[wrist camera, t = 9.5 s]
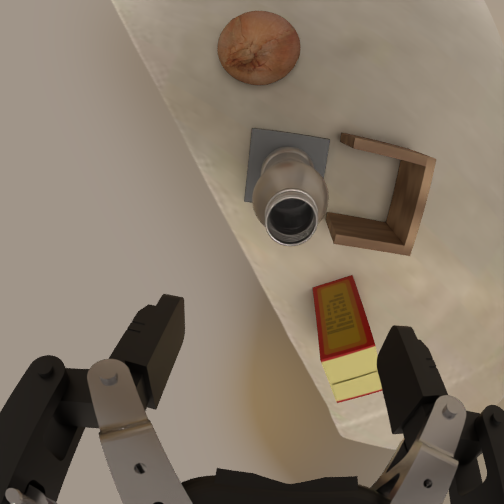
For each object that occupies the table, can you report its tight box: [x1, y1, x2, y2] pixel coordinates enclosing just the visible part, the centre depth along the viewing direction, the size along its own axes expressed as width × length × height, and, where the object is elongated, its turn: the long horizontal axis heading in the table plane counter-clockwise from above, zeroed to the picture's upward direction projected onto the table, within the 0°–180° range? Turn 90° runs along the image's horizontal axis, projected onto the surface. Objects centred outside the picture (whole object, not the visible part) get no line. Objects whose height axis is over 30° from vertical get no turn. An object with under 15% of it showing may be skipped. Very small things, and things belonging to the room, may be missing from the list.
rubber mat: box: [244, 128, 330, 203], centre depth 39 cm, size 10×10×1 cm
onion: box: [218, 11, 300, 85], centre depth 29 cm, size 10×9×10 cm
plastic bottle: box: [252, 147, 329, 246], centre depth 29 cm, size 6×7×20 cm
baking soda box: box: [313, 275, 382, 403], centre depth 40 cm, size 10×6×16 cm
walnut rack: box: [326, 133, 436, 256], centre depth 35 cm, size 12×10×8 cm
